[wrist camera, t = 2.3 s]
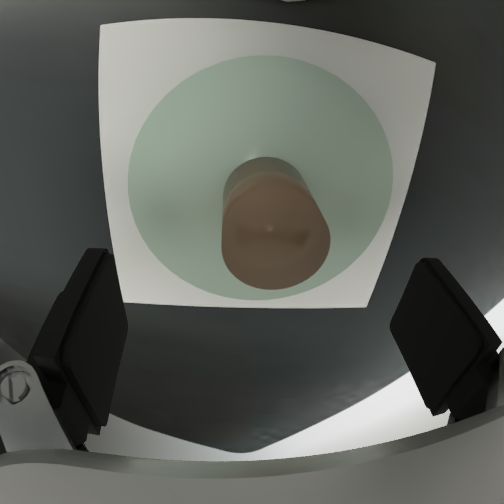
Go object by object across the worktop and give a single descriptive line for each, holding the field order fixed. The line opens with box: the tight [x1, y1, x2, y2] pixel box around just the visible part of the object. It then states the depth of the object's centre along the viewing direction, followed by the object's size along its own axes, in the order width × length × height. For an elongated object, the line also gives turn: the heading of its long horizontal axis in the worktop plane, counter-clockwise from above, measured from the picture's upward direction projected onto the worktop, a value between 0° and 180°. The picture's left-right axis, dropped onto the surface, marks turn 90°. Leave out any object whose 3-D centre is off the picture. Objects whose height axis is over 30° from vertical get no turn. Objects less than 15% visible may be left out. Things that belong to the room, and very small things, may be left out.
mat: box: [99, 18, 436, 308], centre depth 15 cm, size 15×15×1 cm
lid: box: [128, 56, 393, 300], centre depth 13 cm, size 12×12×5 cm
